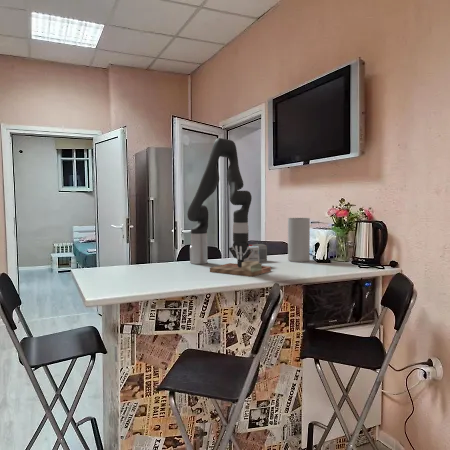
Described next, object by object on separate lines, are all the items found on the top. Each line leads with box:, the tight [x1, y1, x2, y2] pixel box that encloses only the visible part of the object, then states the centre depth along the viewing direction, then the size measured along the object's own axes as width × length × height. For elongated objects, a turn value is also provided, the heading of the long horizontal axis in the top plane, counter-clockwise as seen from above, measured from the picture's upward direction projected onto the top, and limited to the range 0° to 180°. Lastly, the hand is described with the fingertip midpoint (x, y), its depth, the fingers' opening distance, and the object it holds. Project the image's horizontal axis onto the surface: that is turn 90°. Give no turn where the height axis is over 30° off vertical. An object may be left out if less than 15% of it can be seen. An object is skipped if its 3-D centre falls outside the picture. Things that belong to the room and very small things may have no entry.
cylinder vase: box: [287, 217, 311, 263], centre depth 233 cm, size 12×12×25 cm
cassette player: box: [249, 243, 268, 262], centre depth 233 cm, size 16×3×10 cm, turn 113°
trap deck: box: [209, 262, 272, 277], centre depth 200 cm, size 25×18×5 cm
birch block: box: [242, 261, 260, 271], centre depth 192 cm, size 6×6×4 cm
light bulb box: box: [244, 246, 260, 263], centre depth 217 cm, size 11×7×11 cm, turn 84°
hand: (240, 267), depth 194 cm, fingers closed
